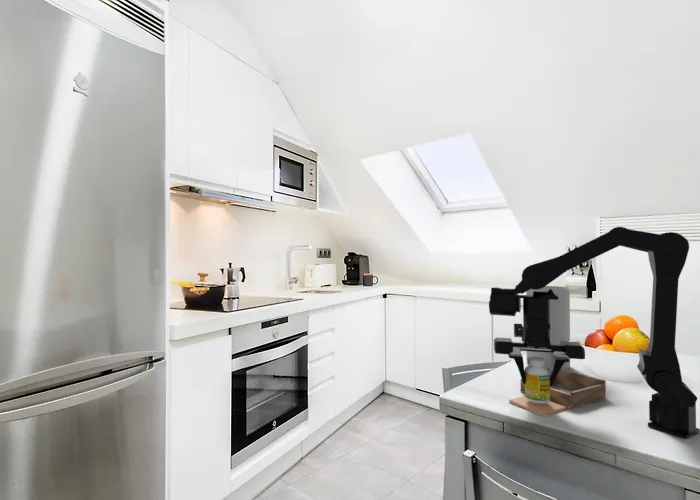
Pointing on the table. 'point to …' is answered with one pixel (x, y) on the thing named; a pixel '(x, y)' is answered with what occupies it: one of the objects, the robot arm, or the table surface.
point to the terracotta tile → (538, 406)
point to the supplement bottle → (537, 381)
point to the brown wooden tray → (576, 389)
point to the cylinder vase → (556, 321)
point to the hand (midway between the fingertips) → (537, 384)
